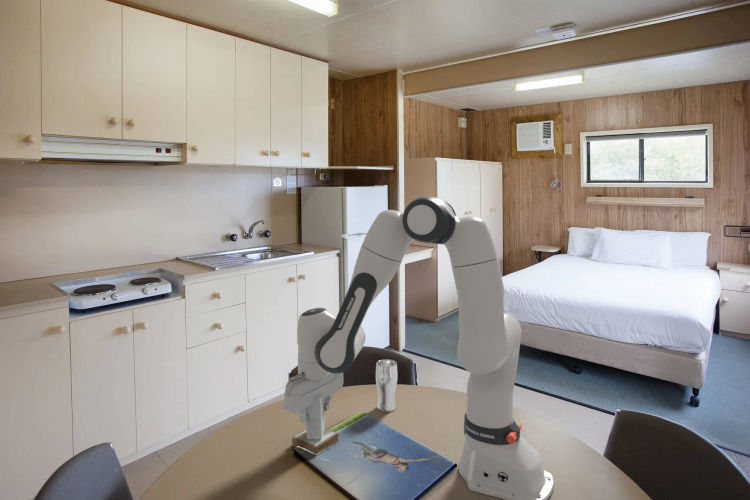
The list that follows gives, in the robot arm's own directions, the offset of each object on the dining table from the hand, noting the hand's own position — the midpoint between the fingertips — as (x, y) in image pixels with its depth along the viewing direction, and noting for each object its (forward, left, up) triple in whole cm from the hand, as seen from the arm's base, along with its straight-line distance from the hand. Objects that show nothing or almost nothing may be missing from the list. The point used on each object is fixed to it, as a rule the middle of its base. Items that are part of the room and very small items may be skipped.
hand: (315, 415), depth 129 cm
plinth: (0, 0, -9) cm, 9 cm away
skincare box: (0, 0, -6) cm, 6 cm away
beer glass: (-4, -29, -8) cm, 30 cm away
